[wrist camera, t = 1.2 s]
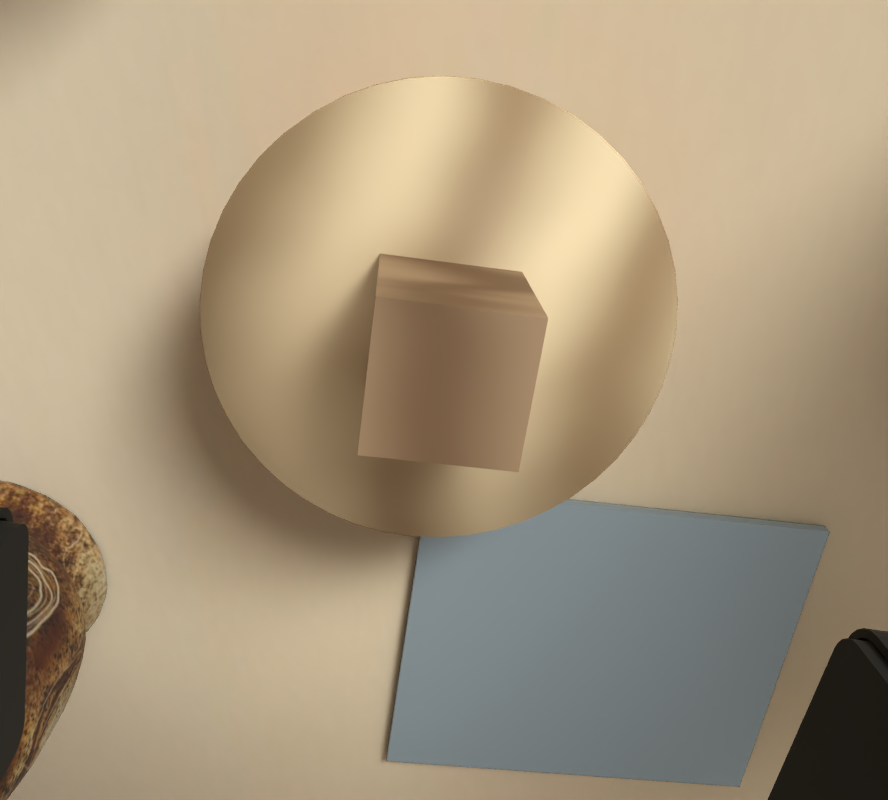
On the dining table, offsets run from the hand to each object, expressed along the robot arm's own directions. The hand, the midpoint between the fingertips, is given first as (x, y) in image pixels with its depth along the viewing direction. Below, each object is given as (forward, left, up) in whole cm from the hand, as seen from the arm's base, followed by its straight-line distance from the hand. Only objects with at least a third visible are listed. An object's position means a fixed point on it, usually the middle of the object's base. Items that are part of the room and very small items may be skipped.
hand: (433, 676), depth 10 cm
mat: (-11, +18, -25) cm, 32 cm away
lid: (-1, +1, -19) cm, 19 cm away
